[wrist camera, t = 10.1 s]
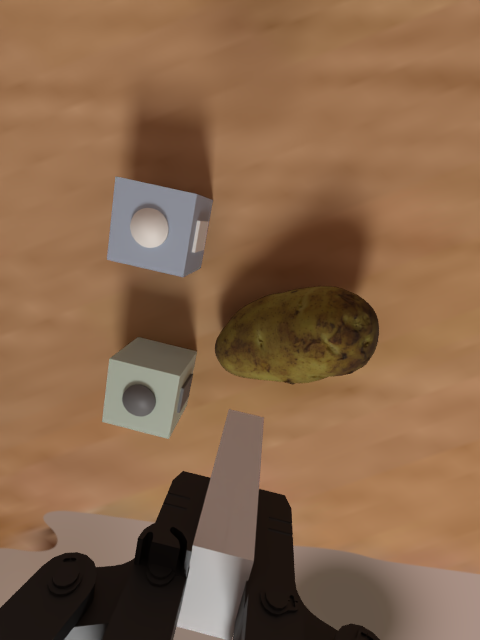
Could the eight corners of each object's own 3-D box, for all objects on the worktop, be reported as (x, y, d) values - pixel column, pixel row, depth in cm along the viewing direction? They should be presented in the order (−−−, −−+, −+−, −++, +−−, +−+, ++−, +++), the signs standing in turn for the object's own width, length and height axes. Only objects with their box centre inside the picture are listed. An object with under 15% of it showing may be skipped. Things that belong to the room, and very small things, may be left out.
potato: (219, 275, 32) (200, 291, 24) (365, 279, 31) (393, 297, 23) (220, 361, 34) (202, 400, 26) (356, 368, 33) (379, 411, 25)
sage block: (189, 405, 36) (170, 441, 30) (130, 390, 36) (100, 423, 30) (199, 351, 34) (181, 378, 28) (138, 336, 35) (107, 359, 29)
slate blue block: (203, 268, 32) (185, 278, 26) (138, 253, 32) (105, 260, 26) (215, 200, 30) (199, 194, 24) (146, 185, 31) (113, 175, 25)
